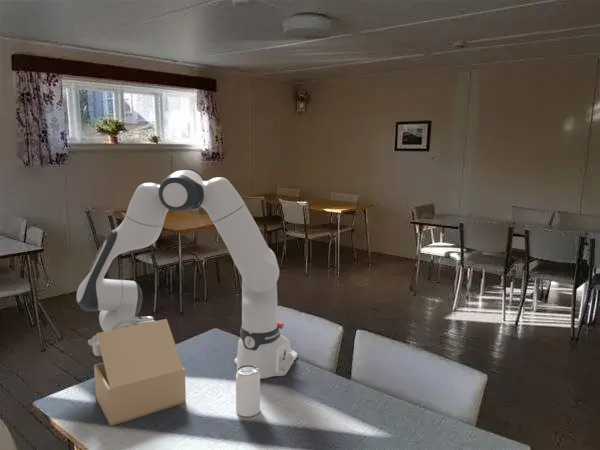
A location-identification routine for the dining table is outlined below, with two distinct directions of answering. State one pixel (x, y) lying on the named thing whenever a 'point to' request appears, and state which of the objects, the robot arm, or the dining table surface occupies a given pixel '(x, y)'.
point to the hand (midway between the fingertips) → (137, 348)
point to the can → (248, 391)
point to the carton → (138, 395)
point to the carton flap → (138, 353)
